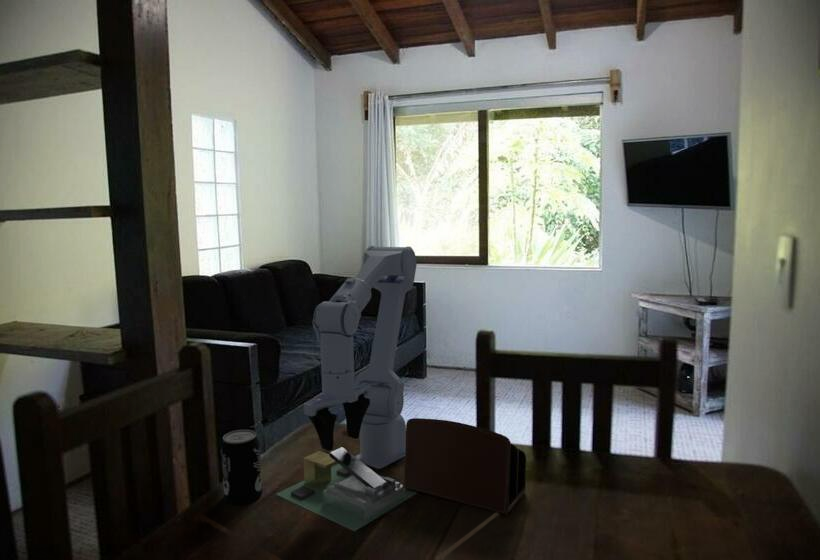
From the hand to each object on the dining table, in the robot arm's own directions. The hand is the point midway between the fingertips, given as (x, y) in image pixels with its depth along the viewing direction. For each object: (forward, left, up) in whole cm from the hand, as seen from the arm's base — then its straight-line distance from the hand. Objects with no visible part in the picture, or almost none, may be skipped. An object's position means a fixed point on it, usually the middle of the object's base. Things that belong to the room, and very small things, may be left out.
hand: (340, 442), depth 111 cm
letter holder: (-14, +17, -10) cm, 24 cm away
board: (0, +1, -10) cm, 10 cm away
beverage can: (+12, -13, -10) cm, 20 cm away
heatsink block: (0, +6, -9) cm, 11 cm away
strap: (0, +4, -4) cm, 6 cm away
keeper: (0, -5, -9) cm, 11 cm away
